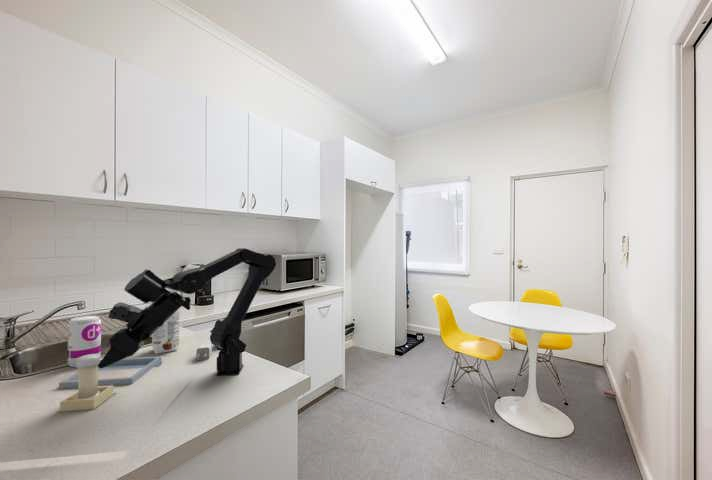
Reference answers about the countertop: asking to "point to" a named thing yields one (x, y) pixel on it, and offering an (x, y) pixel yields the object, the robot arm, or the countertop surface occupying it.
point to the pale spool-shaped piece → (88, 376)
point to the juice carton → (167, 335)
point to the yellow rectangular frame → (86, 400)
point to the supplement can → (83, 337)
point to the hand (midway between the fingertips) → (107, 360)
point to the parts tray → (126, 363)
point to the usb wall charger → (204, 351)
